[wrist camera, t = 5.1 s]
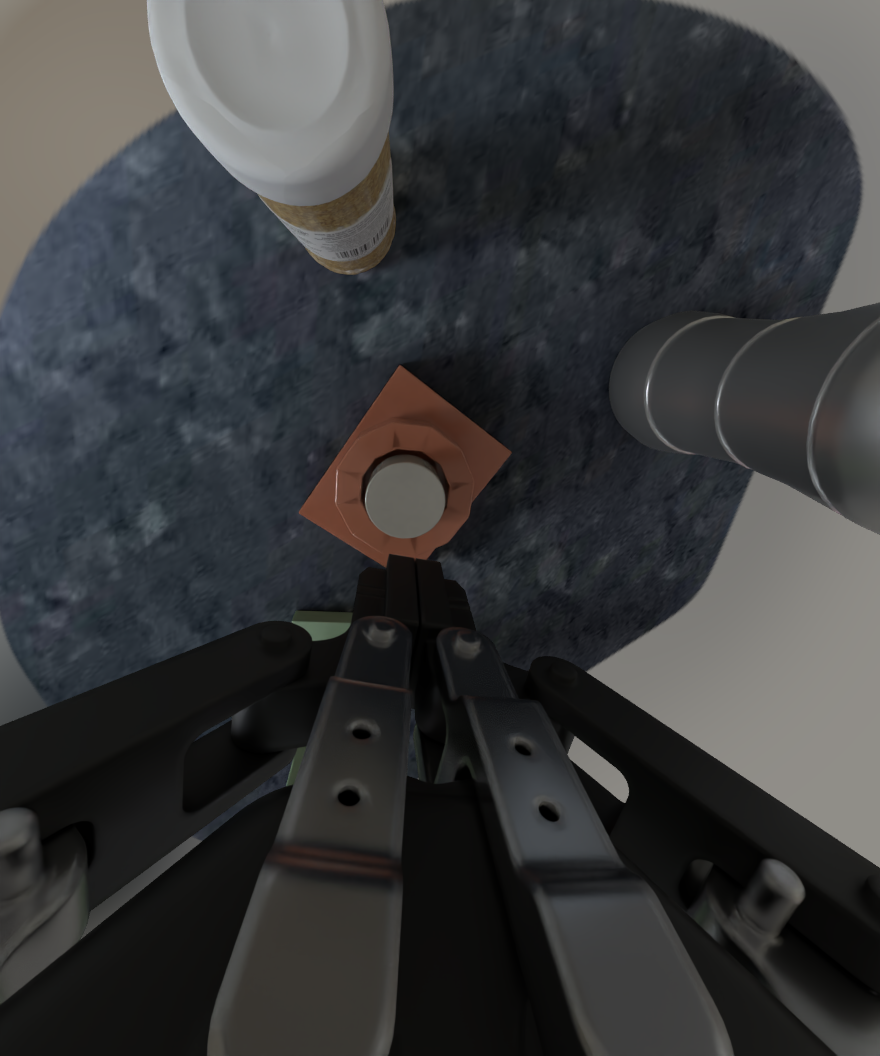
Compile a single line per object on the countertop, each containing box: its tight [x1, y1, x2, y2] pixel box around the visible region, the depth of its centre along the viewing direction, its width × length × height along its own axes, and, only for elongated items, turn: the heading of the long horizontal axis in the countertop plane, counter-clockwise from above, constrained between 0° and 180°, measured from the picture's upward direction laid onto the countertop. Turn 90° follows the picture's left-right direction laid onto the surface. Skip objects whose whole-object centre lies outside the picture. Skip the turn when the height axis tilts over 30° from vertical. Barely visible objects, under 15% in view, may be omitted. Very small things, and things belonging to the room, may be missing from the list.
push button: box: [365, 454, 445, 538], centre depth 21 cm, size 4×4×2 cm
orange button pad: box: [299, 364, 512, 567], centre depth 24 cm, size 9×7×4 cm
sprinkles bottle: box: [147, 0, 396, 275], centre depth 15 cm, size 5×5×13 cm
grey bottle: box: [609, 303, 880, 535], centre depth 15 cm, size 6×7×20 cm
